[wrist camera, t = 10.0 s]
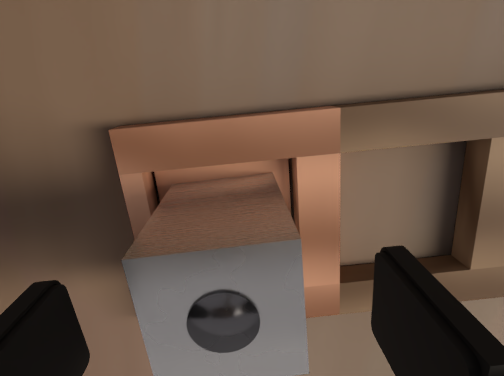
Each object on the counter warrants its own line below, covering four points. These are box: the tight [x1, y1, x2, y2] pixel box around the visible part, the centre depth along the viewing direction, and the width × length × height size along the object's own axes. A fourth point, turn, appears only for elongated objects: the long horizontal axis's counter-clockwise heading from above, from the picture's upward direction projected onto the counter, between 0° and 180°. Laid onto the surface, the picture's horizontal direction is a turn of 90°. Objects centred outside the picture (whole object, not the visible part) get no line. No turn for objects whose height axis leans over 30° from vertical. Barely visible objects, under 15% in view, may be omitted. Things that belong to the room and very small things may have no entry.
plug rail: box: [108, 89, 504, 318], centre depth 15 cm, size 11×27×2 cm, turn 95°
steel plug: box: [121, 173, 309, 376], centre depth 12 cm, size 5×5×7 cm
